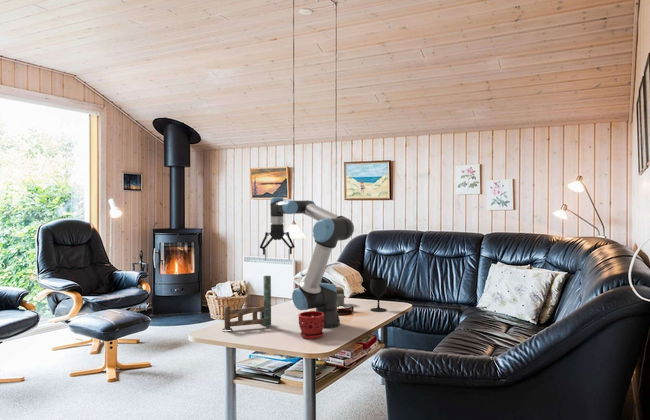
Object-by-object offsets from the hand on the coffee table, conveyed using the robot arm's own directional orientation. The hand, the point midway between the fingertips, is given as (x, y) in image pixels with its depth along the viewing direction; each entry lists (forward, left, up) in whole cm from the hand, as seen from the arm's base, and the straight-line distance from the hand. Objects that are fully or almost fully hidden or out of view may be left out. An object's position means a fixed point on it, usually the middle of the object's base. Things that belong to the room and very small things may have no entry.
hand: (277, 260), depth 301 cm
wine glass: (-4, -66, -35) cm, 75 cm away
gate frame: (-10, +22, -35) cm, 43 cm away
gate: (-13, +22, -33) cm, 42 cm away
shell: (+24, -50, -35) cm, 66 cm away
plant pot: (-44, -2, -35) cm, 56 cm away
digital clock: (+9, -39, -35) cm, 53 cm away
